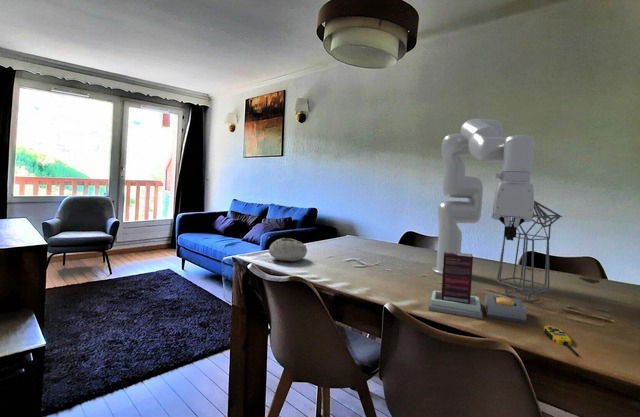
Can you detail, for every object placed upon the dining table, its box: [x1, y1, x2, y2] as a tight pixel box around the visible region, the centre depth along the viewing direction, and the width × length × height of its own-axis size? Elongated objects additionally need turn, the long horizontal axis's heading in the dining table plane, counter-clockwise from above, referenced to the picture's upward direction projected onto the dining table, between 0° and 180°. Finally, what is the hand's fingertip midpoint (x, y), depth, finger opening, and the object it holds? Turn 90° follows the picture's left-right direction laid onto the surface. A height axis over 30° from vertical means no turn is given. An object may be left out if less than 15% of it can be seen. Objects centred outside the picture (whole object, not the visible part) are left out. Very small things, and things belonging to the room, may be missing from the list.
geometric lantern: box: [496, 199, 563, 303], centre depth 120 cm, size 16×16×35 cm
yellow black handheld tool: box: [543, 325, 579, 357], centre depth 87 cm, size 5×2×15 cm
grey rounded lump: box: [268, 237, 308, 262], centre depth 163 cm, size 18×18×10 cm
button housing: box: [484, 293, 528, 324], centre depth 104 cm, size 10×10×4 cm
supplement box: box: [441, 252, 474, 304], centre depth 109 cm, size 9×5×16 cm, turn 70°
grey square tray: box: [428, 289, 483, 320], centre depth 109 cm, size 14×15×3 cm
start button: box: [496, 296, 515, 306], centre depth 104 cm, size 5×5×3 cm
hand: (509, 239), depth 103 cm, fingers closed
